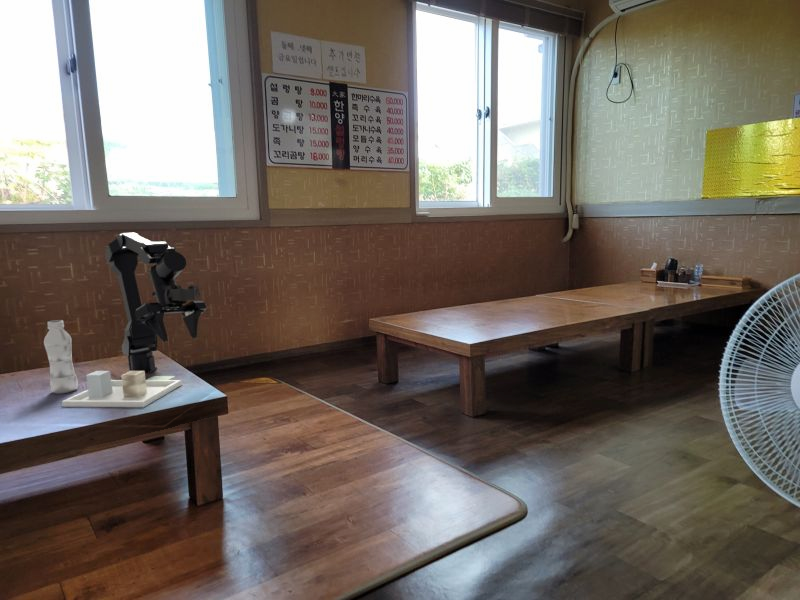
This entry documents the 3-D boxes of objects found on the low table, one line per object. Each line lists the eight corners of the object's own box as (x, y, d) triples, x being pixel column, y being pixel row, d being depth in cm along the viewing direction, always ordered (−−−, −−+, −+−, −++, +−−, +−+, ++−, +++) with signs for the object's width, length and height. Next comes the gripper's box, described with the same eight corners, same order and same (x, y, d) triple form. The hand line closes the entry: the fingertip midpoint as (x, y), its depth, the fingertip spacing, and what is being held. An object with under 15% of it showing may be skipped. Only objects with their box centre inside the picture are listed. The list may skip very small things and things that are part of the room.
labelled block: (123, 397, 143) (120, 375, 143) (132, 392, 147) (130, 370, 146) (138, 397, 143) (135, 375, 142) (147, 392, 147) (144, 370, 146)
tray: (62, 408, 138) (61, 401, 138) (109, 386, 156) (108, 379, 156) (143, 409, 135) (142, 402, 135) (182, 386, 153) (181, 380, 153)
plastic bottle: (67, 396, 148) (57, 323, 145) (45, 396, 149) (34, 323, 146) (84, 389, 154) (75, 318, 151) (63, 388, 155) (53, 319, 152)
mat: (141, 383, 157) (141, 382, 157) (153, 377, 163) (153, 376, 163) (164, 384, 156) (164, 382, 156) (175, 377, 162) (175, 376, 162)
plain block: (88, 397, 145) (86, 375, 144) (99, 392, 149) (96, 370, 148) (102, 397, 144) (100, 375, 143) (112, 392, 148) (110, 370, 147)
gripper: (152, 273, 137) (169, 332, 135) (211, 274, 153) (227, 326, 151) (126, 290, 142) (142, 347, 140) (186, 289, 158) (201, 340, 156)
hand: (180, 339), depth 146 cm, fingers open, 9 cm apart
